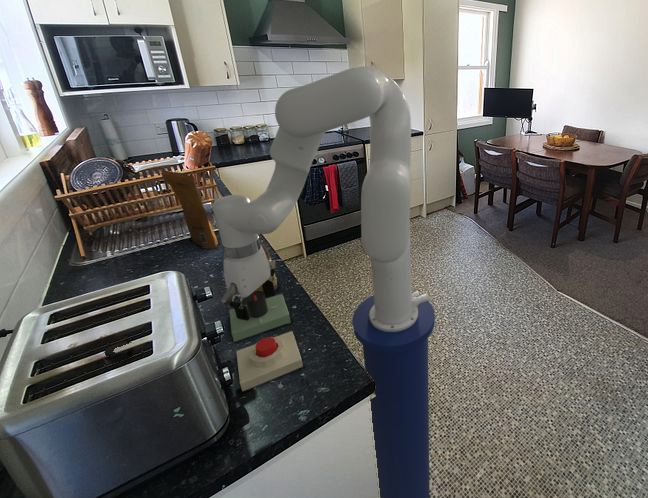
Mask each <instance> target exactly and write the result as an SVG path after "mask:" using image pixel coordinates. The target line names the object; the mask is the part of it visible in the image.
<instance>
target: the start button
mask: <svg viewBox="0 0 648 498" xmlns="http://www.w3.org/2000/svg"><path fill="white" fill-rule="evenodd" d="M272 337H273V336H270V337H269V336H268V337H264V338H261V339H260V340H258V342H256V343H257V344H256V343H255V344H256V351H257V355H258V356H260V357H267V356H270V355H271V354H273V353H274V352H275V351H276V349H277V345H276V341H275V339H274V338H272Z"/></svg>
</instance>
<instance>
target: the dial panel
mask: <svg viewBox="0 0 648 498" xmlns="http://www.w3.org/2000/svg"><path fill="white" fill-rule="evenodd" d="M266 303H267V307H268V312H267V313H266V314H265V315H263V316H261V317H258V318H252V317H250V315H249V317H250V319H249V320H248V321H246V320H241V319H238V318H237V316H236V313H235V309H234V308H232V309H229V310H228V312H229V322H230V331H231V332H230V333H231V336H232V339H233V342H238V341H241V340H244V339H246V338H249V337H252V336H255V335H258V334H261V333H264V332H267V331H269V330H272V329H276V328H278V327H281V326H284V325H287V324H289V323H291V316H290V313H289V310H288V307H287V304H286V301H285V298H284V295H283V293H280V294H276V295H274V296H270V297H267V298H266ZM244 306H247V304H244ZM247 309H248V308H247ZM248 313H249V312H248Z"/></svg>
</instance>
